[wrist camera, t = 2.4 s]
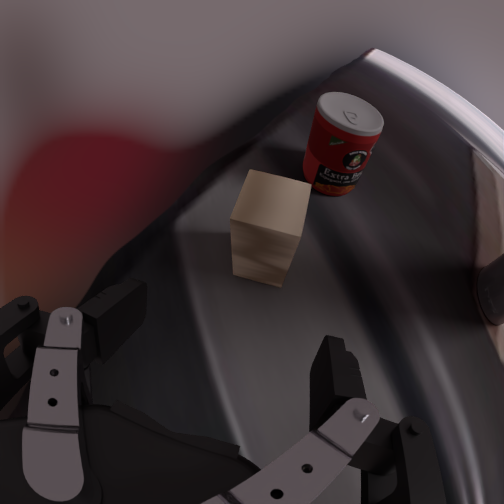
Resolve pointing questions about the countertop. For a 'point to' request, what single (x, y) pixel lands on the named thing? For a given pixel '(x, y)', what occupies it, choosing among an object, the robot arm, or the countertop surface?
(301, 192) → the oak block
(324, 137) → the canned food
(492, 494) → the countertop surface
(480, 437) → the countertop surface
